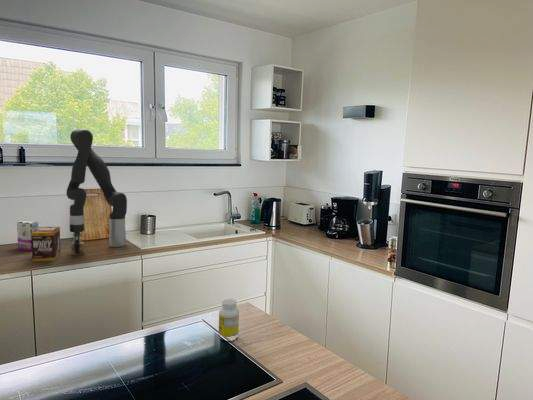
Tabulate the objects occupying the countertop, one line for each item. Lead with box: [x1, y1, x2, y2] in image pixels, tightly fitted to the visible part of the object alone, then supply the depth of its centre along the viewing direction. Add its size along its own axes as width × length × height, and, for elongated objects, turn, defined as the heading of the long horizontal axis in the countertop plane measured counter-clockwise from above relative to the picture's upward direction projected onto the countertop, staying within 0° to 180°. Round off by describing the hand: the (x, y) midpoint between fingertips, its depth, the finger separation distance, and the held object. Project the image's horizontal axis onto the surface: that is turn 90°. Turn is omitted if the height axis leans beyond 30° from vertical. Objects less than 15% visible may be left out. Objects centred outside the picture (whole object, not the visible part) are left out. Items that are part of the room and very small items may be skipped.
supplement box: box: [31, 226, 61, 262], centre depth 214 cm, size 10×15×16 cm
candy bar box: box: [16, 219, 39, 252], centre depth 228 cm, size 11×5×16 cm, turn 70°
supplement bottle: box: [218, 298, 240, 337], centre depth 133 cm, size 7×7×13 cm
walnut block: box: [70, 241, 84, 256], centre depth 224 cm, size 6×6×6 cm
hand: (77, 251), depth 225 cm, fingers closed on walnut block, 6 cm apart
